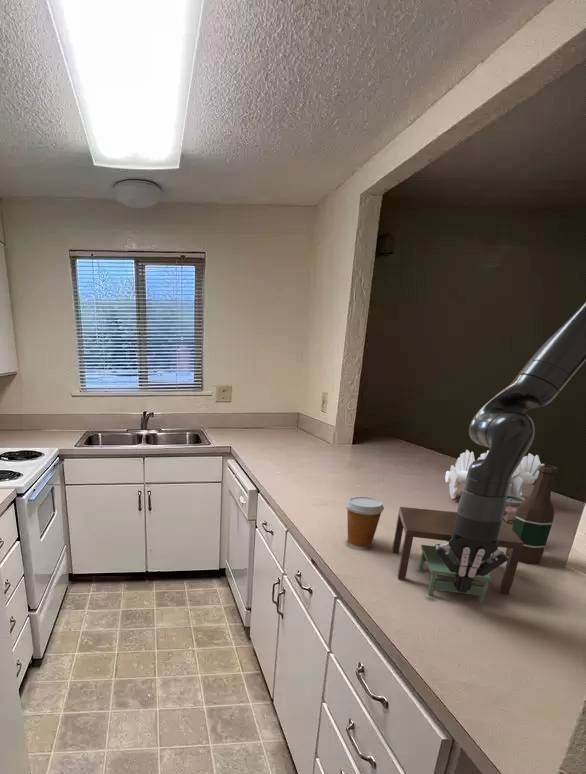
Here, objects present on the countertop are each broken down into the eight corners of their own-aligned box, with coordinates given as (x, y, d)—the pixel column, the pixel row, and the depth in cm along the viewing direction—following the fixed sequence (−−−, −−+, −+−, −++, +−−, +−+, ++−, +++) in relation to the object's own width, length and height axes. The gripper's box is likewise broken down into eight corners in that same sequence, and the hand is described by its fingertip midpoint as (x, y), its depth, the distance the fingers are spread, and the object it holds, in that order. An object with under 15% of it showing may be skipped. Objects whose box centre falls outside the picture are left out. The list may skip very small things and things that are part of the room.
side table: (488, 562, 109) (500, 516, 104) (508, 595, 94) (524, 543, 90) (391, 550, 116) (399, 506, 111) (398, 579, 102) (406, 530, 97)
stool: (468, 573, 104) (473, 550, 102) (485, 604, 91) (492, 579, 89) (417, 566, 107) (421, 544, 105) (427, 595, 95) (432, 571, 93)
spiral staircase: (439, 504, 159) (520, 507, 152) (453, 498, 143) (544, 502, 135) (440, 455, 161) (520, 456, 153) (454, 444, 144) (545, 444, 136)
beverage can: (472, 533, 125) (482, 494, 121) (493, 529, 127) (503, 491, 123) (504, 546, 117) (515, 505, 113) (526, 542, 119) (538, 501, 115)
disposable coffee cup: (377, 551, 115) (384, 509, 111) (339, 545, 119) (344, 504, 115) (378, 538, 123) (384, 498, 119) (343, 533, 127) (348, 494, 123)
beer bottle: (510, 562, 109) (536, 469, 100) (499, 549, 116) (523, 461, 107) (547, 566, 106) (577, 472, 98) (534, 552, 113) (561, 463, 105)
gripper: (513, 510, 86) (492, 586, 92) (438, 503, 90) (422, 576, 96) (527, 524, 80) (503, 605, 86) (445, 516, 84) (428, 594, 90)
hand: (460, 590), depth 91 cm, fingers closed
